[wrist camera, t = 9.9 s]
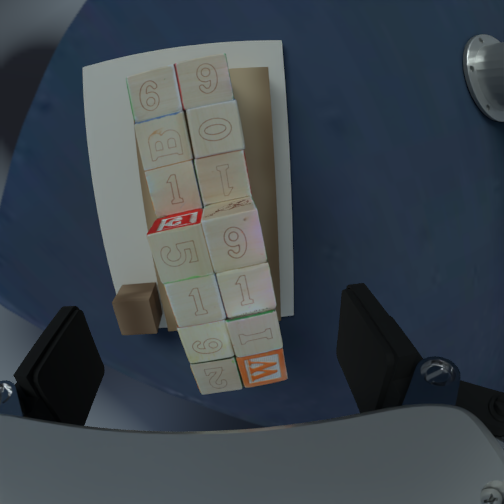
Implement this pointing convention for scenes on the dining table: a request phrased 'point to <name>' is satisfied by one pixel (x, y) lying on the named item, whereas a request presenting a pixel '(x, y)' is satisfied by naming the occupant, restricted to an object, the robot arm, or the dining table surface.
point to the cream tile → (126, 163)
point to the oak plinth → (258, 164)
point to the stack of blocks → (207, 224)
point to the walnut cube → (138, 308)
